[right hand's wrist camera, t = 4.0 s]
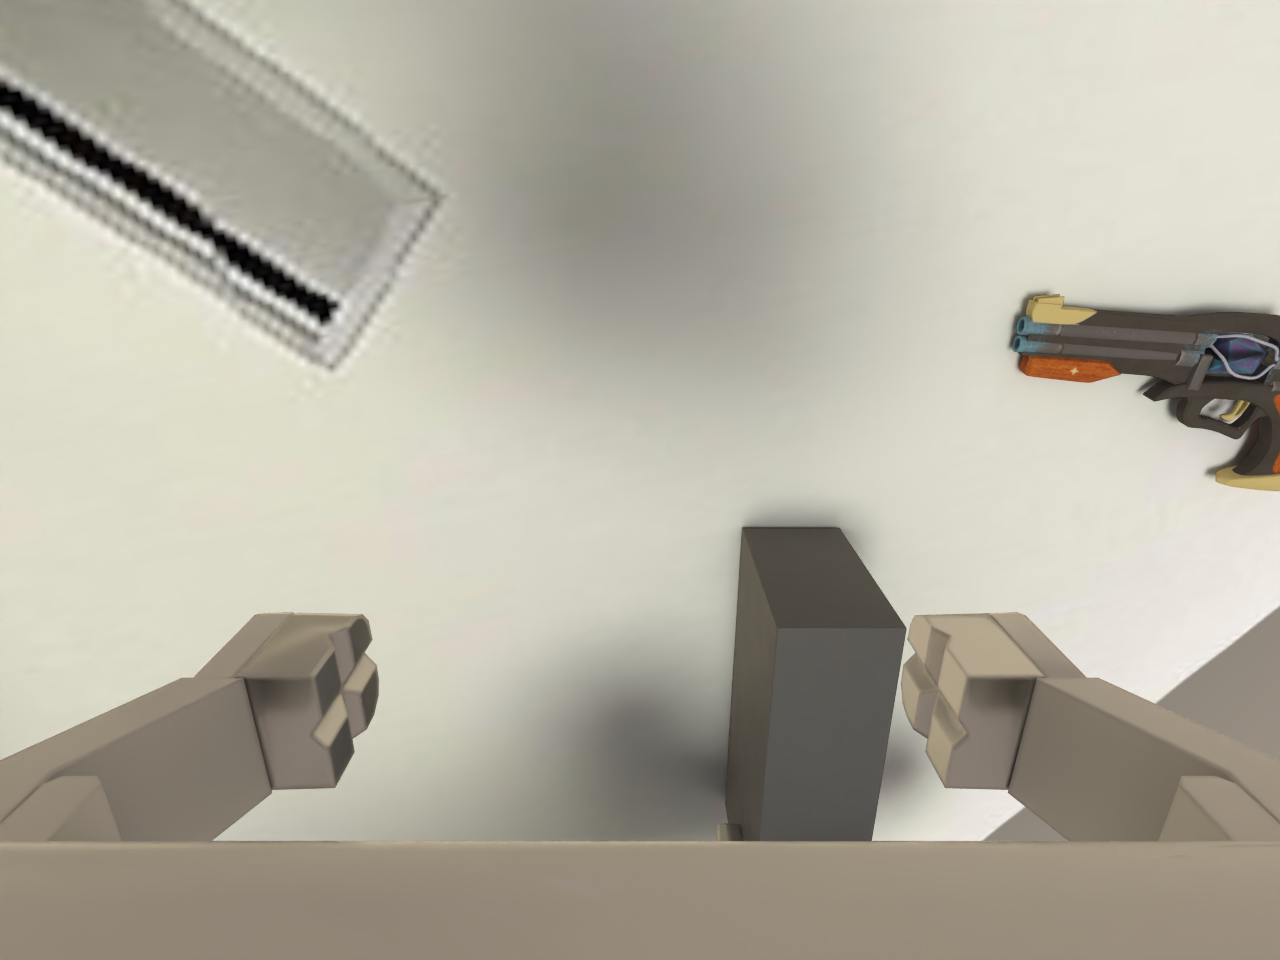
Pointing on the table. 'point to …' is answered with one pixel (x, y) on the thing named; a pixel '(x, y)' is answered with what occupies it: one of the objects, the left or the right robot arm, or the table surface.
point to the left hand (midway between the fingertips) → (787, 830)
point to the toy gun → (1170, 367)
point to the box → (809, 688)
